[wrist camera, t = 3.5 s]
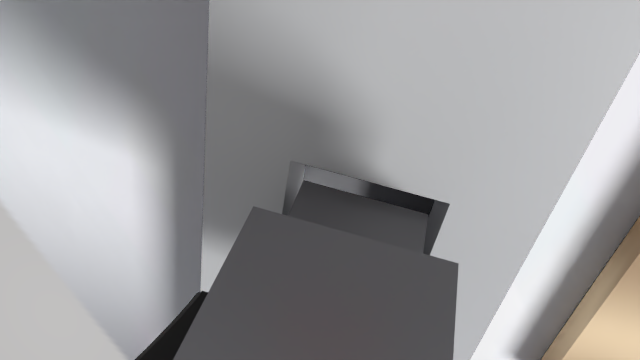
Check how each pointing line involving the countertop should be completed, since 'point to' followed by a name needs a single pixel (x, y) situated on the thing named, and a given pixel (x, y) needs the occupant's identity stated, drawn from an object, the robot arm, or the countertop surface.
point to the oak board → (606, 311)
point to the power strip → (413, 117)
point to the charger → (328, 286)
